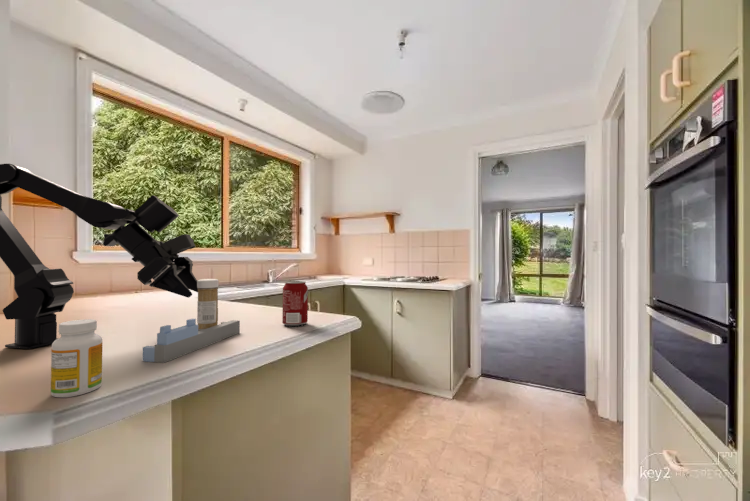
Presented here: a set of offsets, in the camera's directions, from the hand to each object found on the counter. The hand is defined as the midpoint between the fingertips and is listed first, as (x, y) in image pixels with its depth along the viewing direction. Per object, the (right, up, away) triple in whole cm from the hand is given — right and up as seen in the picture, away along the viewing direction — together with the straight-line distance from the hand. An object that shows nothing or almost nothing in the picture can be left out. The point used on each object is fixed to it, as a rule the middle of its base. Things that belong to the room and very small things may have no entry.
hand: (196, 293), depth 77 cm
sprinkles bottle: (+2, -10, 0) cm, 11 cm away
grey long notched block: (+4, -10, -7) cm, 13 cm away
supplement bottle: (0, -10, -31) cm, 32 cm away
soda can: (+20, -11, +14) cm, 26 cm away
